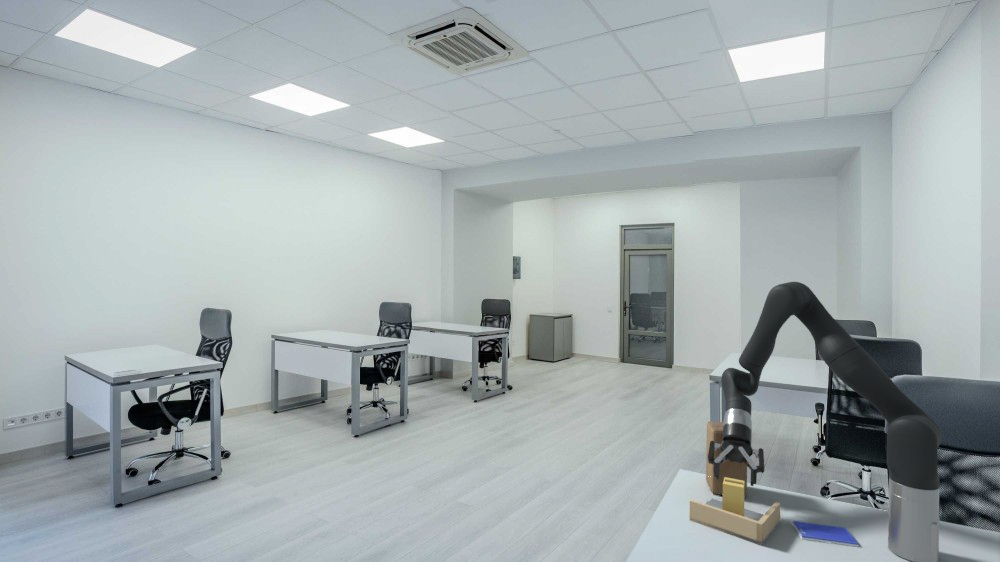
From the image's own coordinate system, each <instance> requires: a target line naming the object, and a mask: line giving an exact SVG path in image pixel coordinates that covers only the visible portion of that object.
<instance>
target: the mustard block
mask: <svg viewBox="0 0 1000 562" xmlns="http://www.w3.org/2000/svg"><path fill="white" fill-rule="evenodd" d="M744 488H745V481H743V480H737V479H732V478H727V477H724V481H723V495H722V502H723V504H722V510H725V511H728V512H732V513H735V514H738V515H741V516H744V509H745V497H744Z"/></svg>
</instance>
